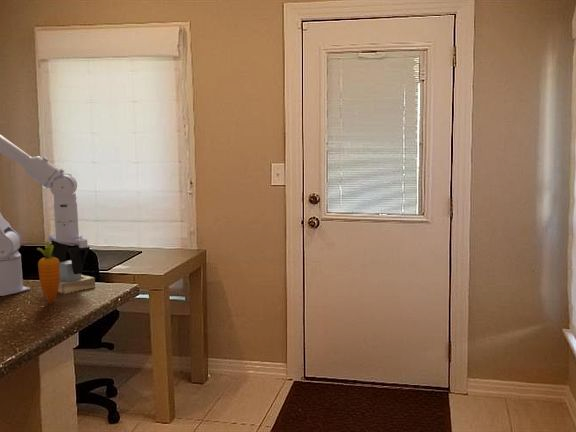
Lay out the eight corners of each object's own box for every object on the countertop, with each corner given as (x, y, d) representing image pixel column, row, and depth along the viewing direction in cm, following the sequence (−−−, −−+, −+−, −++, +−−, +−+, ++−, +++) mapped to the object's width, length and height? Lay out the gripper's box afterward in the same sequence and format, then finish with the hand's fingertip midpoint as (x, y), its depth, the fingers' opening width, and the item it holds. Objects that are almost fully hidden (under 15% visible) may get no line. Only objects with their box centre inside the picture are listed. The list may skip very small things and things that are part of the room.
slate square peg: (59, 288, 171) (58, 262, 170) (73, 285, 174) (71, 260, 173) (68, 290, 169) (66, 264, 168) (81, 287, 172) (80, 261, 171)
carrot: (55, 306, 154) (51, 244, 152) (36, 305, 155) (32, 244, 153) (66, 301, 159) (62, 241, 157) (47, 300, 160) (43, 240, 158)
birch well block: (45, 288, 171) (45, 279, 171) (75, 282, 178) (74, 273, 178) (65, 294, 165) (64, 284, 165) (95, 286, 172) (94, 277, 172)
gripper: (96, 221, 168) (99, 272, 170) (63, 216, 177) (66, 265, 179) (72, 224, 162) (75, 277, 164) (40, 219, 171) (43, 270, 173)
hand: (69, 271), depth 171 cm, fingers open, 7 cm apart
